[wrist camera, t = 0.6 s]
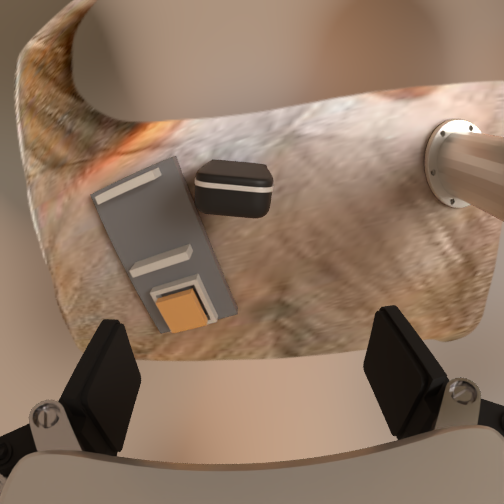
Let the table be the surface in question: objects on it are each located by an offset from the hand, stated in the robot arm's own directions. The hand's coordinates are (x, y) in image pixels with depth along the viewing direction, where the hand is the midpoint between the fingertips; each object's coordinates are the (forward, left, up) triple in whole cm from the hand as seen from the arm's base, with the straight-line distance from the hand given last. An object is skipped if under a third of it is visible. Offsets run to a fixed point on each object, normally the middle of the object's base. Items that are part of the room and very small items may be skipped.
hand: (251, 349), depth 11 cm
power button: (+13, +11, -24) cm, 30 cm away
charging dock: (+13, +4, -27) cm, 31 cm away
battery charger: (+1, -2, -28) cm, 28 cm away
